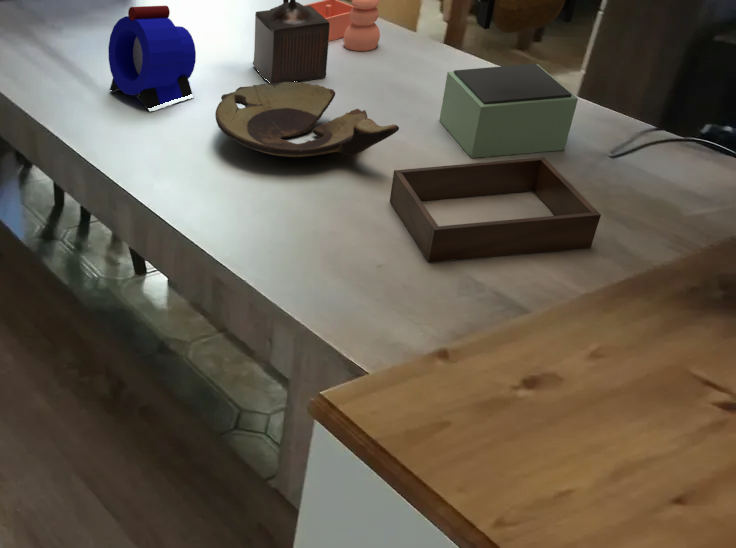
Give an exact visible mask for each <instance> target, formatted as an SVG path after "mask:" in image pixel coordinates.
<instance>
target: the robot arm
mask: <svg viewBox="0 0 736 548" xmlns="http://www.w3.org/2000/svg"><path fill="white" fill-rule="evenodd" d="M477 1H478V2H479V3H480V4H479V10H478V11H479V12H478V15H477V21H476V24H478V25H479V26H480V27H481V28H482V29H484V30H490V28H491V23H492V19H493V8H494V3H495V0H477ZM576 3H577V0H566V2H565V4H564V7H563V8H562V10H561V12H560V13H559V15H558V16H557V17H558V18H559V19H560V20H561V21H562V22H565V23H571V22H572V18H573V14H574V12H575V11H574V10H575V7H576Z"/></svg>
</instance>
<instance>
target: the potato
mask: <svg viewBox="0 0 736 548" xmlns="http://www.w3.org/2000/svg"><path fill="white" fill-rule="evenodd" d="M565 2H566V0H495V3H494V8H493V13H492V19H493V23H494V25H495V27H496V29H498V30H499V31H500V32H502V33H505V34H512V33H513V34H514V33H519V32H523V31H527V30H530V29H542V28H543V27H546V26H548V25H550V24H552V23H553V22H554V21H555V19H556V18H557V17H558V15H559V13H560V12H561V10H562V8H563V7H564V4H565Z"/></svg>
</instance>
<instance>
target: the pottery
mask: <svg viewBox="0 0 736 548" xmlns="http://www.w3.org/2000/svg"><path fill="white" fill-rule="evenodd" d="M379 4H380V0H351V4H349V3H347V2H344V1H341V0H320V1H319V0H318V1H316V2H312V3H307V4H304V5H303V4H302V5H303V6H307V5H310V6H311V7H312V8H314V9H315V10H316V11H317V12H318V13H319V14H321V15H322V16H323V17H324V18H325V19H326V20H327V21H328V22H329V24H330V27H329V41H328V42H330V41H335V40H338V39H342V38H343V42H344V47H345V49H348V50H349V51H356V52H368V51H373V50H375V49H376V48H377V47H378V45H379V42H380V39H381V32H380V28H379V26H378V25H377V24H376V23H375V22H377V21H378V18H379V15H380V12H379V9H378V8H377V6H378V5H379Z"/></svg>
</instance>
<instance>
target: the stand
mask: <svg viewBox="0 0 736 548" xmlns="http://www.w3.org/2000/svg"><path fill="white" fill-rule="evenodd" d="M444 86H445V87H444V91H443V96H442V103H441V109H440V114H439V120H438V121H439V122H440V124H441V125H443V127H444V129H446V130H447V132H448V133H449V134H450V135H451V136H452V137H453V139H454V140H455V141H456V142H457V144H458V145H459V146H460V147H461V148H462V149H463V150H464V153H466V154H467V155H468V156H469V158H470V159H476V158H489V157H501V156H511V155H522V154H535V153H545V152H557V151H565V149H566V145H567V142H568V138H569V135H570V130H571V126H572V123H573V120H574V115H575V111H576V109H577V105H578V101H579V98H578V97H577V96H576V95H575V94H574V93H572V92H571V91H570V90H569V89H568V88H566V87H565V86H563V84H561V82H559V81H558V80H557V79H555V78H554V77H553V76H552V75H551V74H550V73H549V72H548V71H546V70H545V69H544V68H543V67H542V66H541V65H539V64H538V63H526V64H516V65H513V64H511V65H502V66H489V67H479V68H468V69H466V68H465V69H455V70H452V71H447V74H446V80H445V85H444Z"/></svg>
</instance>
